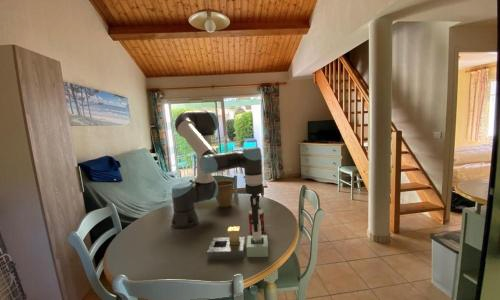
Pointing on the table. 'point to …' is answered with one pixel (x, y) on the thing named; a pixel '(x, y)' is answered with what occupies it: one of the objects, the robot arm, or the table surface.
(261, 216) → the canned food
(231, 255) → the socket block
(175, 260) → the table surface
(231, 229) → the tan rectangular block
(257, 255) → the pale green box
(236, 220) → the table surface
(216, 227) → the table surface
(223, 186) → the plant pot
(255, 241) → the white tall bar
